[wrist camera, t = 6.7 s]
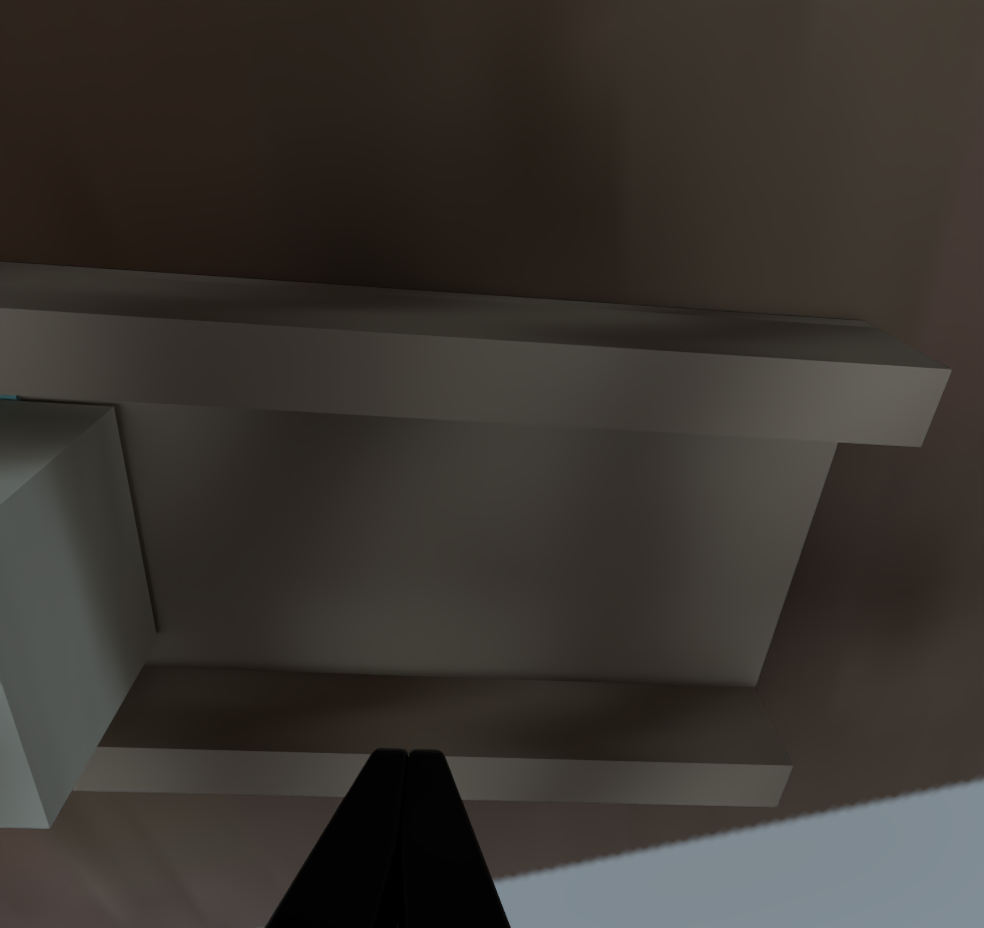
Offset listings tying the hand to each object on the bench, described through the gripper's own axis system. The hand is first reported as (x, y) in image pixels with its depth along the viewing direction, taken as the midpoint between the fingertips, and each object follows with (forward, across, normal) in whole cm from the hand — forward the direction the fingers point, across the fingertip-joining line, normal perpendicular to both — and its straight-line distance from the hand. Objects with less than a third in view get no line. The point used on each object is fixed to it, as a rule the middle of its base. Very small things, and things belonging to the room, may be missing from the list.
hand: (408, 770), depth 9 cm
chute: (+6, +3, 0) cm, 6 cm away
